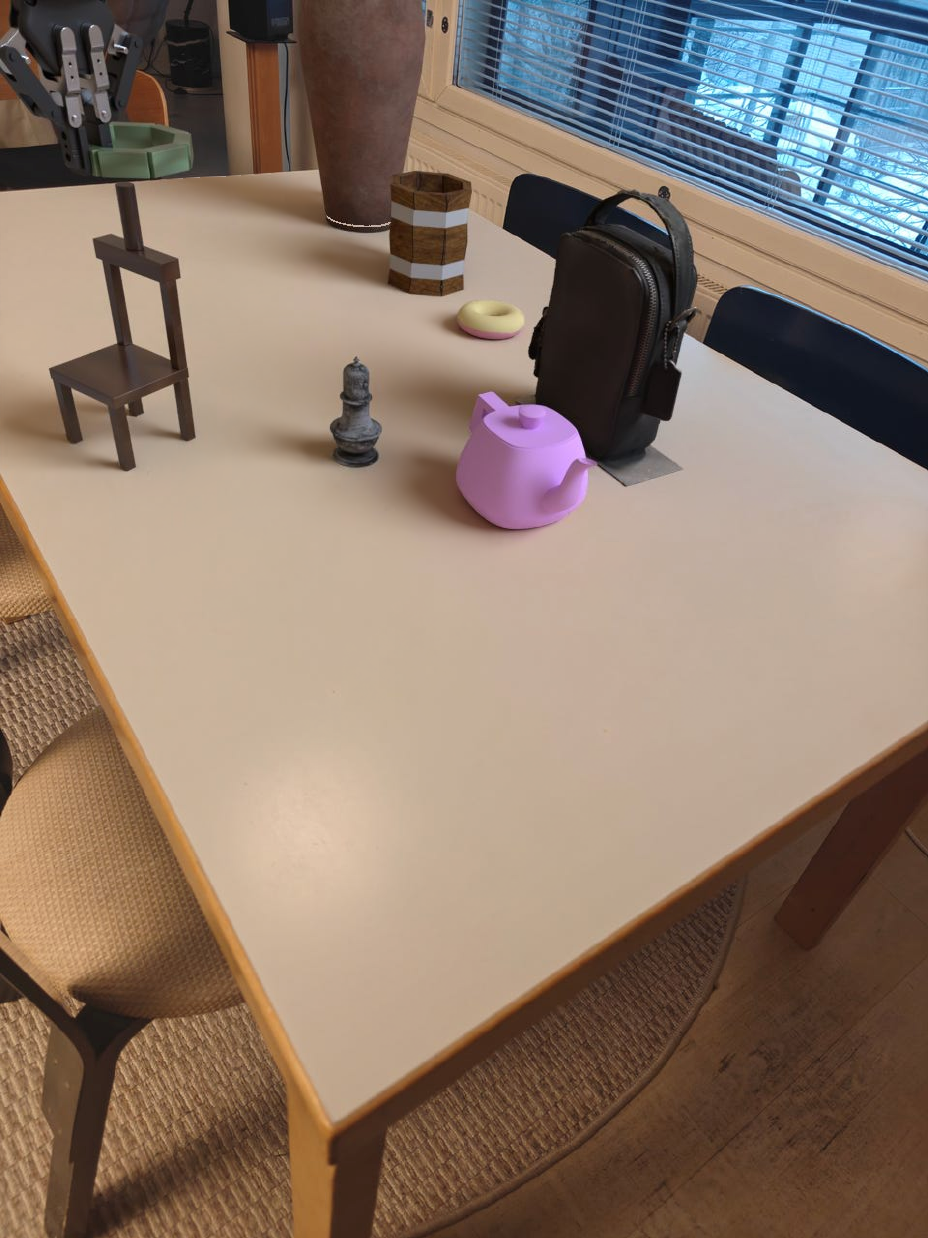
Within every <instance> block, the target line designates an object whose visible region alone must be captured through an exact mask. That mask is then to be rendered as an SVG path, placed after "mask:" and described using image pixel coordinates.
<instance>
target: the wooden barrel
mask: <svg viewBox="0 0 928 1238" xmlns="http://www.w3.org/2000/svg"><path fill="white" fill-rule="evenodd" d="M390 187H391V200H392V205H391V223H390V229H389V233H388V239H389V240H388V241H389V269H388V278H387V285H390V286H391V287H394V288H396V289H398V290H400V291H403V292H405V293H407V294H410V295H420V296H421V295H423V296H435V297H444V296H447V295H450V294H454V293H458V292H460V291H464V290H465V288H464V287H465V285H464V282H465V281H464V270H465V260H466V253H467V247H468V221H469V208H470V204H471V200H472V199H471V197H472V192H473V187H472V182H471V181H470V180H467V179H464V178H461V177H458V176H456V175H453V174H450V173H444V172H434V171H433V172H432V171H422V170H412V171H410V170H404V172H402V173H400V174H394V175H392V177H391V183H390Z"/></svg>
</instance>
